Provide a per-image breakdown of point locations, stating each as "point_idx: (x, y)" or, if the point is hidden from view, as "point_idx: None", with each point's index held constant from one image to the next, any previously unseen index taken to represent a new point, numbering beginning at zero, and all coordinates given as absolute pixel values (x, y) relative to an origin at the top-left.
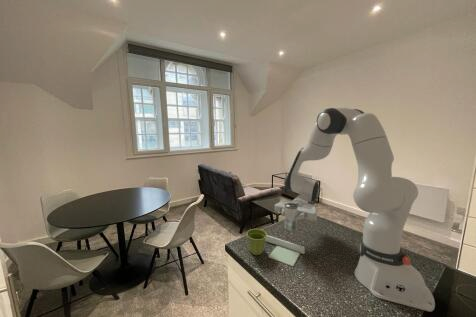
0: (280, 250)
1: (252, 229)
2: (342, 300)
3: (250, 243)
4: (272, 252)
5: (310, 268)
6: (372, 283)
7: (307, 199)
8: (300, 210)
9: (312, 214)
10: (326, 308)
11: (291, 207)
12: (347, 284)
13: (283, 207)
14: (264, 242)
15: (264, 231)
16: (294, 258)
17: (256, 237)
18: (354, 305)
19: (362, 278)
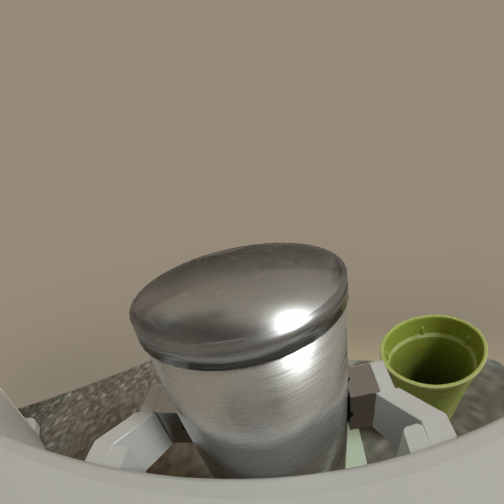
0: None
1: (484, 350)
2: (109, 394)
3: (428, 349)
4: (360, 450)
5: (177, 461)
6: (24, 418)
7: None
8: (123, 474)
9: (15, 441)
10: (147, 367)
11: (214, 253)
12: (79, 440)
13: (458, 438)
14: None
15: (433, 385)
16: None
17: (460, 397)
18: (90, 393)
19: (34, 441)
